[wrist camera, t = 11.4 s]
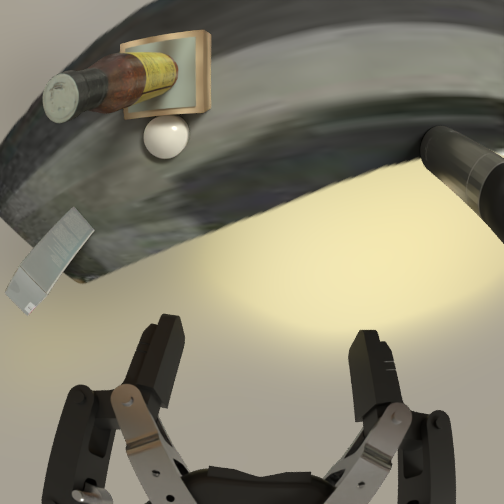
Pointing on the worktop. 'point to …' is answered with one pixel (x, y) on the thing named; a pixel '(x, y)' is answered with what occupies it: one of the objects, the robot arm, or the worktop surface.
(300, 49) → the worktop surface
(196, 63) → the plinth
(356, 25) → the worktop surface
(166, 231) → the worktop surface
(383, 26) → the worktop surface
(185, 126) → the white round dome
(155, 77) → the sauce bottle
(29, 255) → the hard drive box
